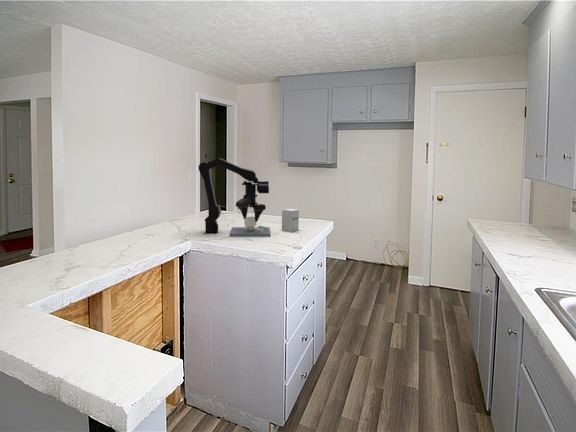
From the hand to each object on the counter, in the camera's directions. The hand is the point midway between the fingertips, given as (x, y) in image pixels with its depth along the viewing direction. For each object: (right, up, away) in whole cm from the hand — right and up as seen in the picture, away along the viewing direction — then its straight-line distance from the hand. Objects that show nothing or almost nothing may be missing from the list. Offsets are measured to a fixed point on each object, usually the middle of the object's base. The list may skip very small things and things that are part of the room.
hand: (250, 220), depth 207 cm
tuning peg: (+3, -6, -1) cm, 7 cm away
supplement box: (+22, -6, +10) cm, 25 cm away
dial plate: (0, -7, +1) cm, 7 cm away
